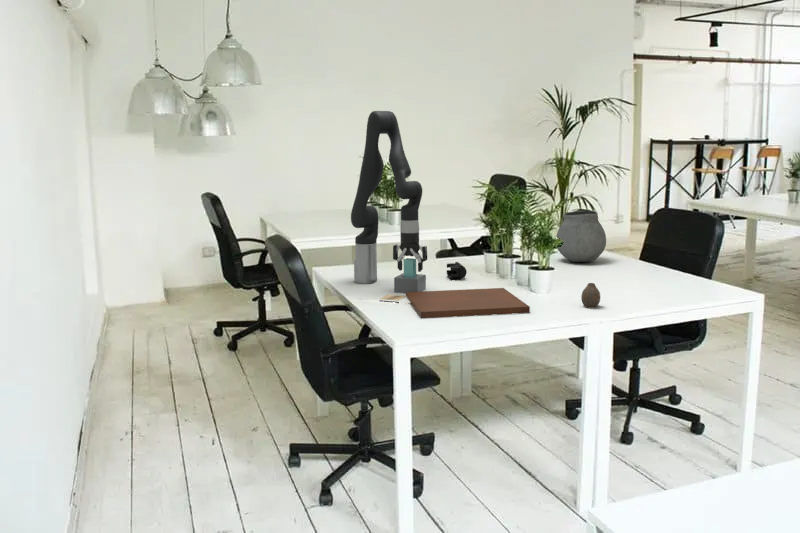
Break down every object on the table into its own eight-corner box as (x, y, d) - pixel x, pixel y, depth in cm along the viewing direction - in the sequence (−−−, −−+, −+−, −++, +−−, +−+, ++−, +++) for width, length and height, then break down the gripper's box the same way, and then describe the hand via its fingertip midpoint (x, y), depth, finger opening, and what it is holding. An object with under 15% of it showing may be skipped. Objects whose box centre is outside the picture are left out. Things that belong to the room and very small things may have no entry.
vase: (588, 303, 286) (589, 280, 285) (603, 306, 281) (604, 283, 279) (577, 306, 282) (578, 283, 280) (592, 309, 277) (593, 286, 275)
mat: (379, 301, 293) (379, 298, 293) (387, 297, 300) (387, 294, 300) (398, 302, 290) (398, 300, 290) (406, 298, 297) (406, 296, 297)
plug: (403, 291, 306) (403, 259, 304) (407, 289, 310) (407, 258, 307) (413, 291, 305) (412, 260, 302) (416, 289, 308) (416, 258, 306)
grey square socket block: (394, 294, 304) (394, 277, 303) (403, 289, 314) (403, 273, 312) (417, 296, 301) (417, 279, 300) (425, 291, 310) (425, 274, 309)
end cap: (466, 280, 332) (466, 265, 330) (450, 281, 331) (450, 265, 330) (461, 276, 341) (461, 261, 340) (446, 276, 341) (446, 261, 339)
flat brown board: (529, 314, 273) (503, 295, 305) (529, 306, 272) (503, 287, 304) (420, 320, 267) (405, 299, 299) (420, 311, 266) (405, 292, 298)
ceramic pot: (552, 257, 387) (554, 208, 382) (601, 257, 384) (603, 209, 380) (557, 266, 363) (559, 214, 358) (609, 266, 361) (611, 214, 356)
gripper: (389, 231, 302) (390, 271, 305) (423, 232, 297) (423, 273, 300) (396, 229, 309) (397, 268, 312) (429, 230, 304) (429, 270, 306)
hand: (410, 270), depth 306 cm, fingers open, 8 cm apart
